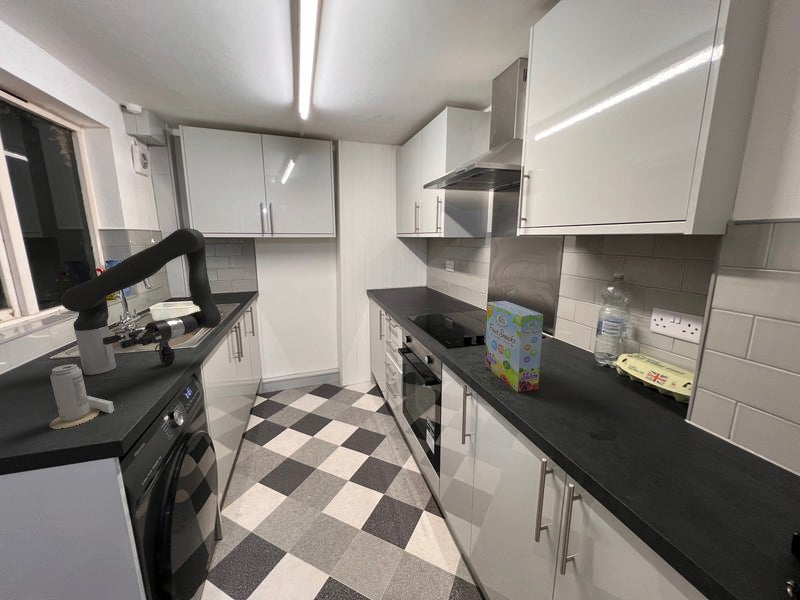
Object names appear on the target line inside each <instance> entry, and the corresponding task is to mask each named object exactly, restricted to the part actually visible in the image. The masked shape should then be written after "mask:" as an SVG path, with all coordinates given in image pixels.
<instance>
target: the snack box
mask: <svg viewBox="0 0 800 600" xmlns="http://www.w3.org/2000/svg"><path fill="white" fill-rule="evenodd" d="M543 325H544V314H543V313H540V312H537V311H535V310H533V309H530V308H526V307H524V306H521V305H519V304H515V303H513V302H509V301H507V300H500V301H489V302H488V301H487V302H486V328H485V329H486V330H485V331H486V332H485V357H484V358H485V359H484V361H485V364H484V366H485V368H486V369H487V370H489V371H490V372H492V373H493V374H494V375H495V376H496V377H498V378H499V379H500V380H502V381H503V382H504V383H505V384H506V385H508V386H509V387H510V388H511V389H513V390H514V391H515V392H517V393H522V392H523V393H524V392H530V391H536V390H537V391H538V390H539V383H540V381H539V380H540V370H541V369H540V368H541V367H540V366H541V353H542V339H543V328H544V326H543Z"/></svg>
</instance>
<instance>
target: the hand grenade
mask: <svg viewBox="0 0 800 600" xmlns="http://www.w3.org/2000/svg"><path fill="white" fill-rule="evenodd" d="M170 341H171V339H170V340H167V341H163V342H160V343H157V344H156V346H155V347H154V350H155V352H157V353H158V355H159V360H160V363H161V364H163V365H164V364H165V365H166V366H170V365H172V364H173V363H174V361H175V358H176V354H175V353H176V352H175V350H174V349H173V348H172V347H171V346H170V345H169V342H170ZM157 349H158V350H157Z"/></svg>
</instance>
